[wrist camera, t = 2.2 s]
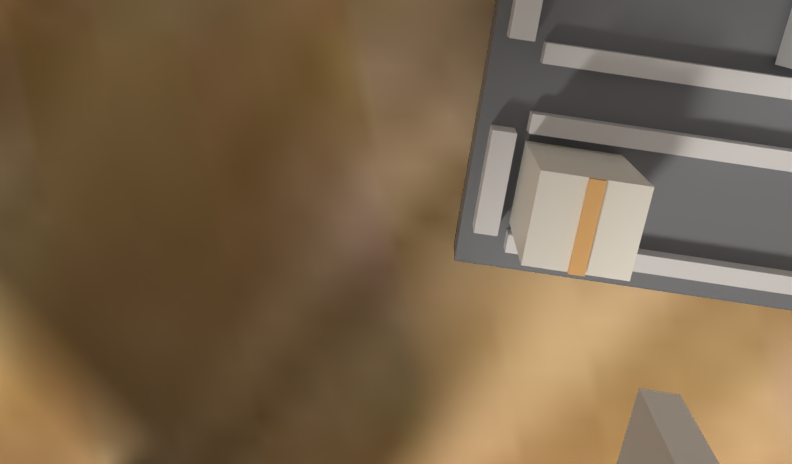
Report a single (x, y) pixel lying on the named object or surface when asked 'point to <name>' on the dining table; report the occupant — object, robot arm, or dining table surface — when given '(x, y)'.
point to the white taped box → (579, 211)
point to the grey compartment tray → (648, 133)
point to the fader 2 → (786, 46)
